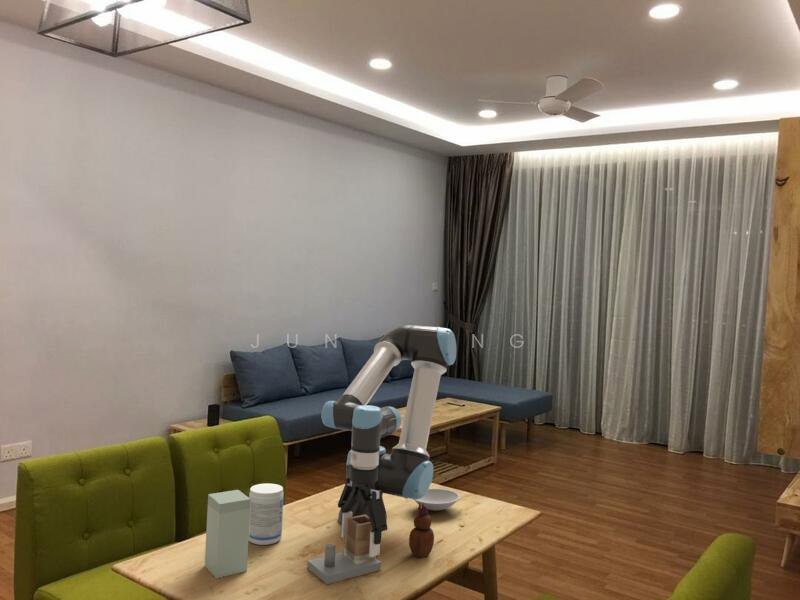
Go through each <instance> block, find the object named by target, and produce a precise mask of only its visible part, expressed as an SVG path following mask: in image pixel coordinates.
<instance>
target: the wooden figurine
mask: <svg viewBox="0 0 800 600" xmlns="http://www.w3.org/2000/svg"><path fill="white" fill-rule="evenodd" d="M417 508H418V509H417V514H416V515H415V516H414V517H413V526H414V527H413V528H412V529H411V530H410V533H409V536H408V537H409V538H408V545H409V549H410V552H411V554H412V555H413V556H414V557H416V556H417V558H426V557H428V556H429V555H430V554H431V552H432V550H433V548H434V543H435V542H434V541H435V534H434V530H433V529H432V528H431V526H432V517H431V516H430V515H429V513H428V512H429V511H428V509H427V508H426V506H424V503H422V507H421V505H420V503H419V504H418V507H417ZM425 556H426V557H425Z"/></svg>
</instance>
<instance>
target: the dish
mask: <svg viewBox="0 0 800 600" xmlns="http://www.w3.org/2000/svg"><path fill="white" fill-rule="evenodd" d="M460 499H461V494H460V493H459V492H457V491H455V490H451V489H448V488H439V487H438V488H437V487H434V488H432V487H431V488H430V487H429V489H428V491H427V492H426V493H425V495H424V496H423V497H422V498H420V499H412V500H413V501H414V502H416V504H417V505H419V503H420V505H421V508H422V503H424V506H426V508H427V510H429V511H433V510H438V511H443V510H445V509H447V510H448V509H449V508H450V507H452V506H453V505H454V504H455V503H457V502H458V501H459V500H460Z"/></svg>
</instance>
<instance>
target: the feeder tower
mask: <svg viewBox="0 0 800 600" xmlns="http://www.w3.org/2000/svg"><path fill="white" fill-rule="evenodd" d="M250 502H251V499H250V498H249V496H247V495H246V494H245V493H243V492H242V491H241V490H239V489H233V490H227V491H226V490H225V491H222V492H215V493H214V492H213V493H208V495H207V513H206V533H205V552H204V553H205V554H204V567H206V569H207V570H208V571H209V572H210V573H211V574H213V575H214V576H213V575H212V576H213V577H214V578H215V579H219V577H220V578H223V576H224V577H228V575H229V576H232V575H236V574H241V573H245V572H247V571H248V555H249V521H250Z"/></svg>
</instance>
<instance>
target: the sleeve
mask: <svg viewBox="0 0 800 600" xmlns="http://www.w3.org/2000/svg"><path fill="white" fill-rule="evenodd" d="M371 530H373V529H372V526H371V523H370V520H369V517H368V516H367V515H365V514H364V515H360V516H355V517H350V518H346V531H345V537H344V550H343V552H344V556H345V557H347V558H348V559H350V560H351V561H352V562H354V563H355V564H360V563H364V562H368V561H372V560H375V559H377V558H376V557H377V556H373V557H370V556H369V549H370V532H371Z"/></svg>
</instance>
